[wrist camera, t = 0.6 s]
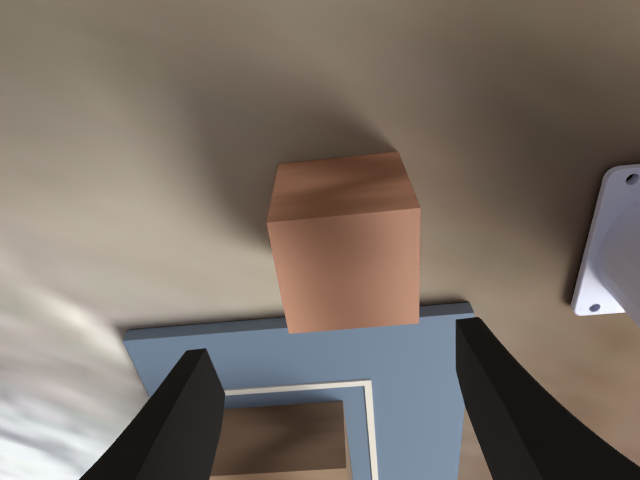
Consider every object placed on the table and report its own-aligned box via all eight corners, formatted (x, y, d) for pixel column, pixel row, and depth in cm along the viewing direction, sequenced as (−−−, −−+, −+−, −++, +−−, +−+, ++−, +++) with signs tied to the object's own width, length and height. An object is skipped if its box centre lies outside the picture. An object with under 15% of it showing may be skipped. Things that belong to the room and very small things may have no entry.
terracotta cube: (397, 150, 18) (420, 208, 14) (399, 250, 21) (418, 323, 17) (278, 162, 19) (266, 222, 14) (295, 259, 21) (288, 333, 17)
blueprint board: (469, 302, 23) (474, 314, 22) (453, 476, 31) (456, 489, 30) (128, 330, 24) (121, 342, 23) (202, 490, 32) (200, 503, 31)
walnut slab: (343, 400, 26) (346, 468, 22) (352, 477, 30) (356, 543, 26) (207, 410, 26) (190, 477, 23) (235, 484, 30) (225, 550, 27)
